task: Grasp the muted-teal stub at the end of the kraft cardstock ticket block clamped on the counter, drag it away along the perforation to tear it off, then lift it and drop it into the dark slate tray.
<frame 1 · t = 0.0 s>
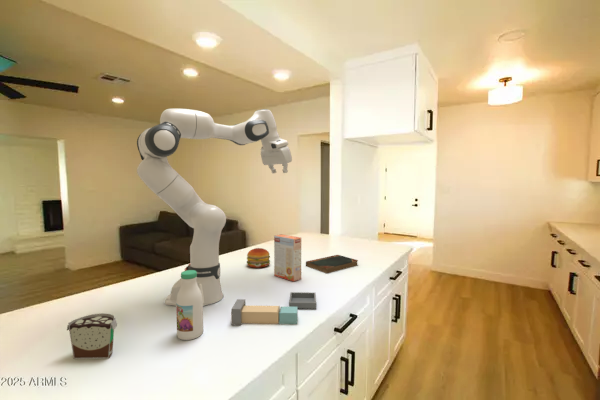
hand: (279, 172, 140), 52 cm above the worktop, tool tilted 20°, fingers open, 8 cm apart
stub: (288, 320, 101), on the worktop
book: (332, 267, 166), on the worktop
food container: (98, 352, 82), on the worktop
burger: (258, 266, 166), on the worktop
cracker box: (287, 277, 146), on the worktop
milk bottle: (190, 334, 92), on the worktop
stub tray: (302, 303, 115), on the worktop
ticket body: (256, 319, 101), on the worktop
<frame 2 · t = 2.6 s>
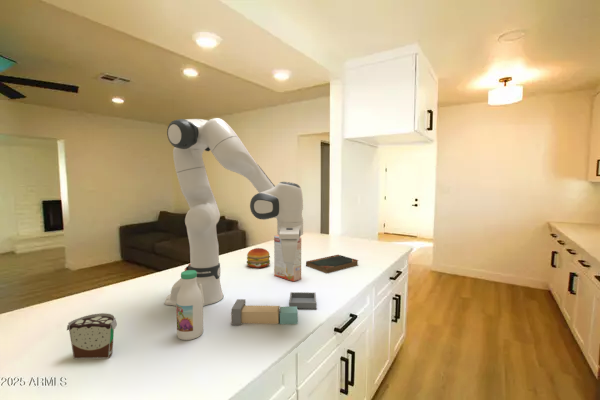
hand: (290, 269, 101), 18 cm above the worktop, tool pointing down, fingers open, 8 cm apart
nothing on the worktop moved.
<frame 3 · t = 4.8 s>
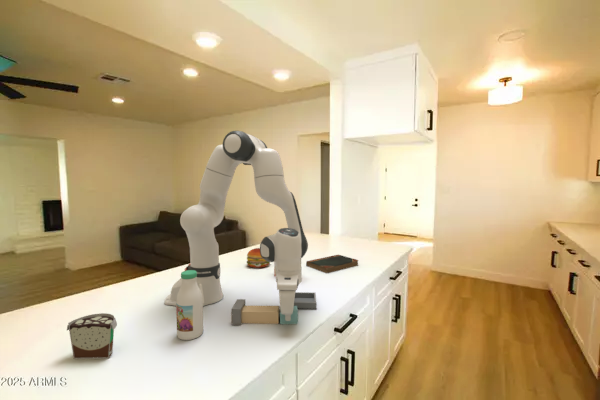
hand: (288, 315, 101), 2 cm above the worktop, tool pointing down, fingers closed on stub, 5 cm apart
stub: (288, 320, 101), on the worktop, touching gripper
everything else where it was.
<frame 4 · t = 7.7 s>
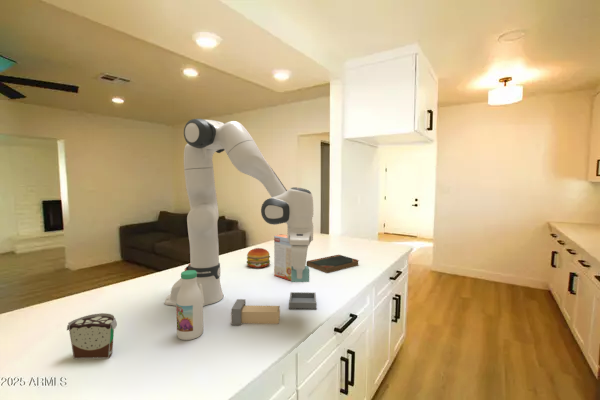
hand: (299, 274, 101), 16 cm above the worktop, tool pointing down, fingers closed on stub, 5 cm apart
stub: (300, 279, 101), point 14 cm above the worktop, touching gripper
everything else where it was.
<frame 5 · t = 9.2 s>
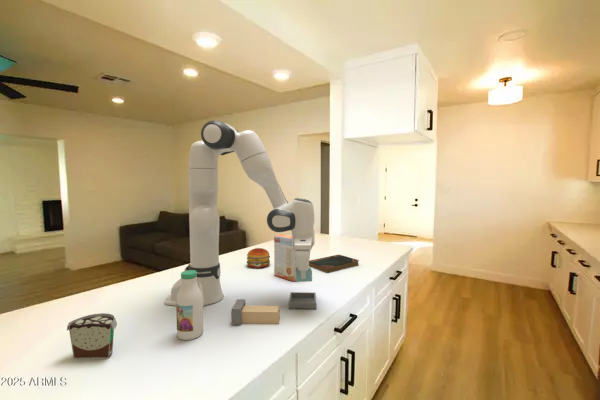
hand: (303, 275, 114), 11 cm above the worktop, tool pointing down, fingers closed on stub, 5 cm apart
stub: (303, 279, 114), point 10 cm above the worktop, touching gripper
everything else where it was.
when the fingers open (5 cm above the worktop, at t = 10.6 s): stub drops 2 cm, resting on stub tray.
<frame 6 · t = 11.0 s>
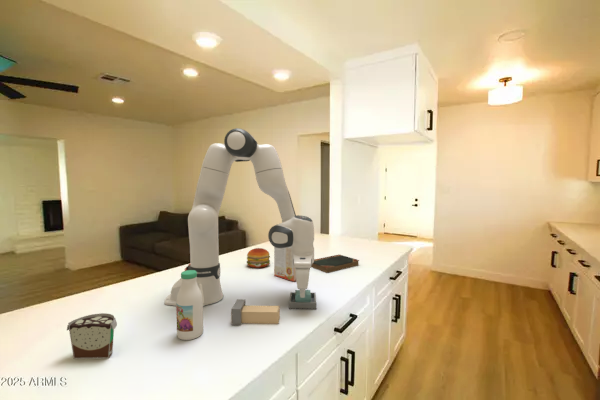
hand: (302, 292, 114), 5 cm above the worktop, tool pointing down, fingers open, 8 cm apart
stub: (302, 302, 115), resting on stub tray
everything else where it was.
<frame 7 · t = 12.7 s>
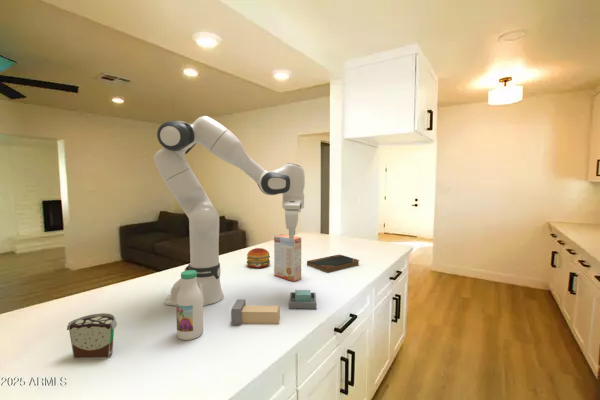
hand: (292, 237, 120), 25 cm above the worktop, tool pointing down, fingers open, 8 cm apart
nothing on the worktop moved.
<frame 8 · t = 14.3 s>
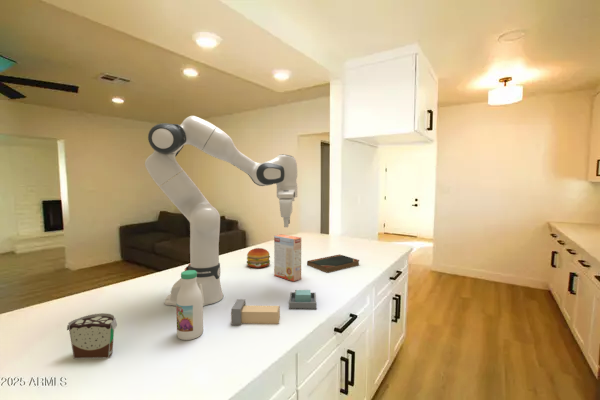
hand: (287, 225, 125), 29 cm above the worktop, tool pointing down, fingers open, 8 cm apart
at the end: stub inside the target area on the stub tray (0.0 cm from its centre), point 0.5 cm above the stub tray's base; stub moved 14.8 cm from its start; the gripper is holding nothing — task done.
